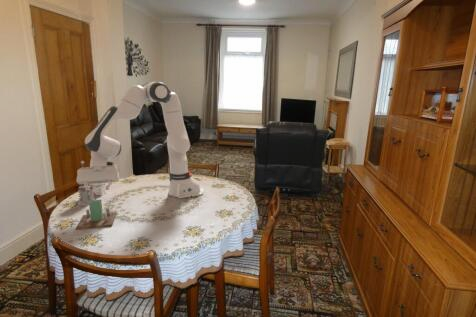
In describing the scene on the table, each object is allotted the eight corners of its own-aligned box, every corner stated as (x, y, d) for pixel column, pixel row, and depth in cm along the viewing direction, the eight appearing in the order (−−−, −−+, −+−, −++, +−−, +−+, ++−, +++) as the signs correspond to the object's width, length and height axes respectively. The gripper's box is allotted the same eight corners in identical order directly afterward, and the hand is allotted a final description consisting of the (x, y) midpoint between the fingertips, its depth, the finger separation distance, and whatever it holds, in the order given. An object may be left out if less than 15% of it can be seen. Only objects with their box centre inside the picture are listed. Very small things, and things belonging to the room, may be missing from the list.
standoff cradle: (116, 213, 155) (115, 205, 154) (112, 226, 142) (111, 216, 141) (83, 216, 151) (82, 207, 150) (76, 229, 138) (74, 220, 137)
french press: (93, 197, 175) (88, 158, 169) (100, 203, 168) (95, 162, 161) (75, 201, 169) (70, 160, 162) (81, 208, 161) (76, 165, 154)
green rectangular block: (103, 217, 148) (101, 199, 146) (102, 220, 145) (100, 202, 143) (92, 218, 147) (90, 200, 144) (91, 221, 144) (89, 202, 142)
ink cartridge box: (89, 195, 179) (86, 172, 175) (93, 192, 184) (91, 170, 180) (102, 196, 178) (99, 173, 174) (106, 193, 183) (104, 170, 179)
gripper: (76, 165, 150) (73, 189, 143) (118, 162, 155) (117, 186, 148) (79, 170, 155) (77, 194, 148) (119, 168, 160) (119, 190, 154)
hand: (97, 190), depth 148 cm, fingers open, 8 cm apart
